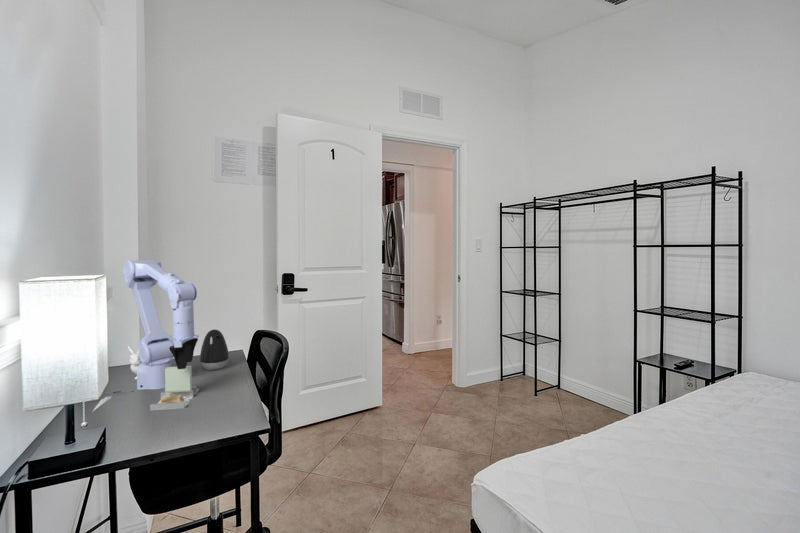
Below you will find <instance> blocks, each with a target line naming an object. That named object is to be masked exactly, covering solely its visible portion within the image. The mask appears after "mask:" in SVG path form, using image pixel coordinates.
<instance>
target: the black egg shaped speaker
mask: <svg viewBox="0 0 800 533" xmlns="http://www.w3.org/2000/svg"><path fill="white" fill-rule="evenodd" d="M229 357H230V355H229V349H228V344H227V342H226V339H225V337H224V334H223V333H222V332H221V330H219V329H215V328H214V329H210V330H209V331H207V333H206V334H205V337H204V338H203V342H202V344H201V347H200V354H199V361H200V364H201V365H202V367H203V368H204V369H206V370H208V371H217V370H221V369H224V367H226V365H227V363H228V360H229V359H230V358H229Z"/></svg>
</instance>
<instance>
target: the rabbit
mask: <svg viewBox="0 0 800 533" xmlns="http://www.w3.org/2000/svg"><path fill="white" fill-rule="evenodd" d="M127 349H128V350H129V354H130V355H129V356H130V357H129V364H130V370H131V372H132V373H133V374H135V375H136V376H135V377H134V380H137V369H138V366H139V364H140V363H143V362H142V361H141V360H140V358H139V349H138V351H137V352H135V350H134V349H133V348H132V346H131V345H128V346H127Z"/></svg>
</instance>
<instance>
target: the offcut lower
mask: <svg viewBox="0 0 800 533" xmlns="http://www.w3.org/2000/svg"><path fill="white" fill-rule="evenodd" d="M159 401H160V400H159ZM159 401H158V402H159ZM158 402H157V403H158ZM179 402H184V398H182V399H181V400H180V401H179ZM160 403H161V401H160V402H159V403H158V404H160ZM164 403H175V402H164Z"/></svg>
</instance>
